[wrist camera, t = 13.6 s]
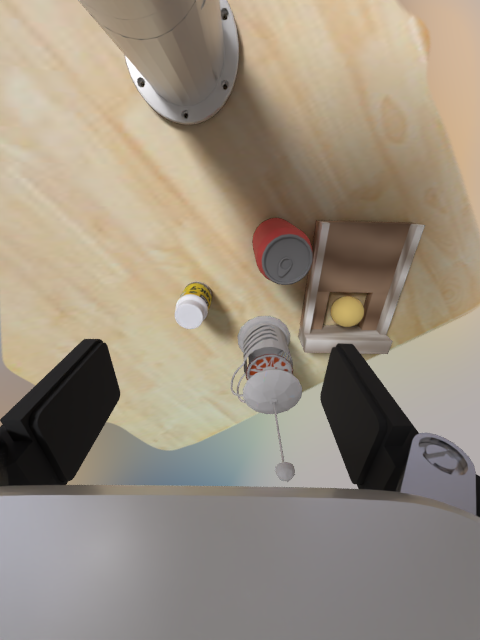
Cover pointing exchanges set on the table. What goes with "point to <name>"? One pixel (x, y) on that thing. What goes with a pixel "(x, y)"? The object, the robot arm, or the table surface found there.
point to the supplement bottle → (193, 305)
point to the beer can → (282, 251)
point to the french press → (268, 374)
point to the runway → (357, 281)
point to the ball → (347, 311)
